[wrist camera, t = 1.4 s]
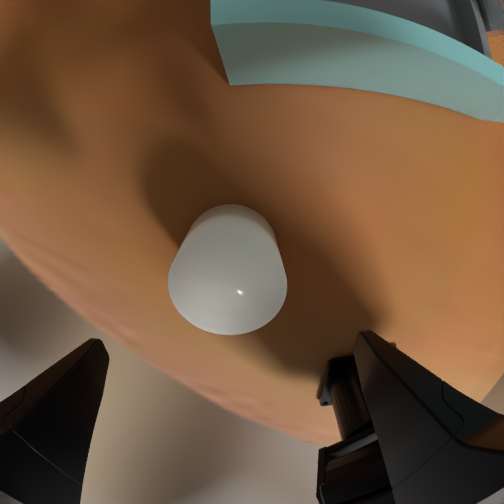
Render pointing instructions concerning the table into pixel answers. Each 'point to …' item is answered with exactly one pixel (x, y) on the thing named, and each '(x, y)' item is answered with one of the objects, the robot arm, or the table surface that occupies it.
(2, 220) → the table surface
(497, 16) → the dock
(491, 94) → the drawer
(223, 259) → the grey rounded tapered piece
